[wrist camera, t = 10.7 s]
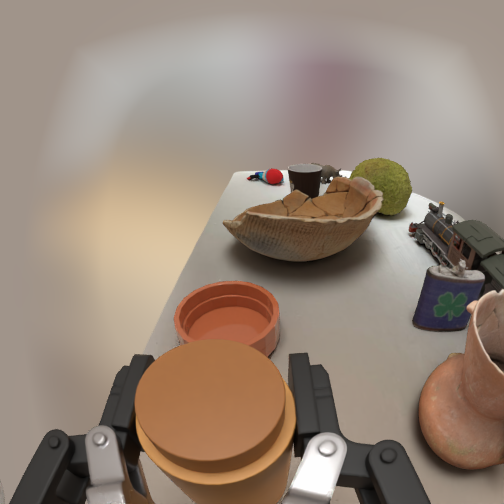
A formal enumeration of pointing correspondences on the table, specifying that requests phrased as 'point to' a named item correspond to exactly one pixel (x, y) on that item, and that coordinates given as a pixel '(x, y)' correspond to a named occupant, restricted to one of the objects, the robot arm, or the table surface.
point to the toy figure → (269, 176)
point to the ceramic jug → (469, 393)
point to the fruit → (386, 183)
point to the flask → (447, 297)
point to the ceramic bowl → (309, 221)
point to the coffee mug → (305, 179)
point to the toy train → (463, 246)
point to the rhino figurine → (328, 172)
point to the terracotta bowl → (230, 315)
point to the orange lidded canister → (218, 422)
